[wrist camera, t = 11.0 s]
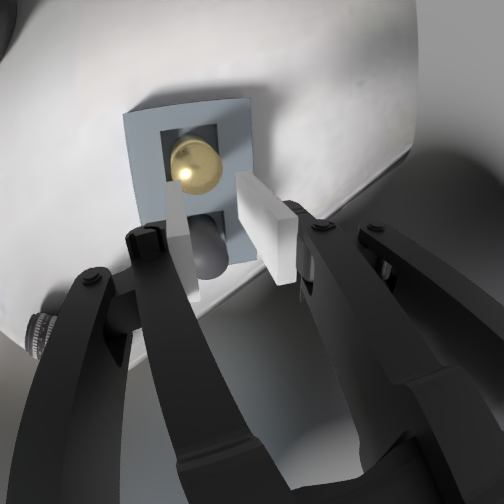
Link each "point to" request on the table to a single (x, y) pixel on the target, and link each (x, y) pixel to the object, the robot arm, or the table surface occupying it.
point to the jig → (197, 206)
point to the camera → (38, 333)
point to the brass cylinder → (195, 164)
